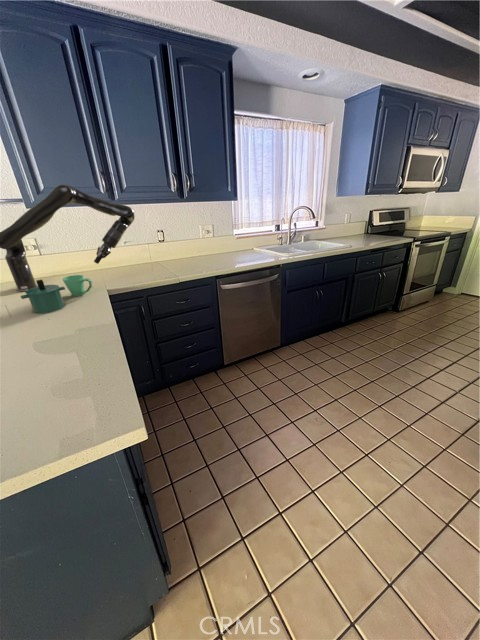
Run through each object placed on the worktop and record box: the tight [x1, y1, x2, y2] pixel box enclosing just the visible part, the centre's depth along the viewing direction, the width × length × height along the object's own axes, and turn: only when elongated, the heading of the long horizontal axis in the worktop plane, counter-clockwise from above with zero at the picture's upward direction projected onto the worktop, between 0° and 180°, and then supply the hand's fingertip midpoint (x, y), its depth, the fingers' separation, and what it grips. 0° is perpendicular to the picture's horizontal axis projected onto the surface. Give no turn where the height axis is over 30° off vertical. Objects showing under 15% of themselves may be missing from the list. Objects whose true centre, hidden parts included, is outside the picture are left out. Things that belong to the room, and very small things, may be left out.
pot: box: [20, 286, 66, 314], centre depth 130 cm, size 13×18×10 cm
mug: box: [62, 274, 93, 297], centre depth 147 cm, size 15×10×10 cm
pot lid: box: [24, 279, 60, 295], centre depth 127 cm, size 14×14×6 cm
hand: (95, 262), depth 149 cm, fingers closed
